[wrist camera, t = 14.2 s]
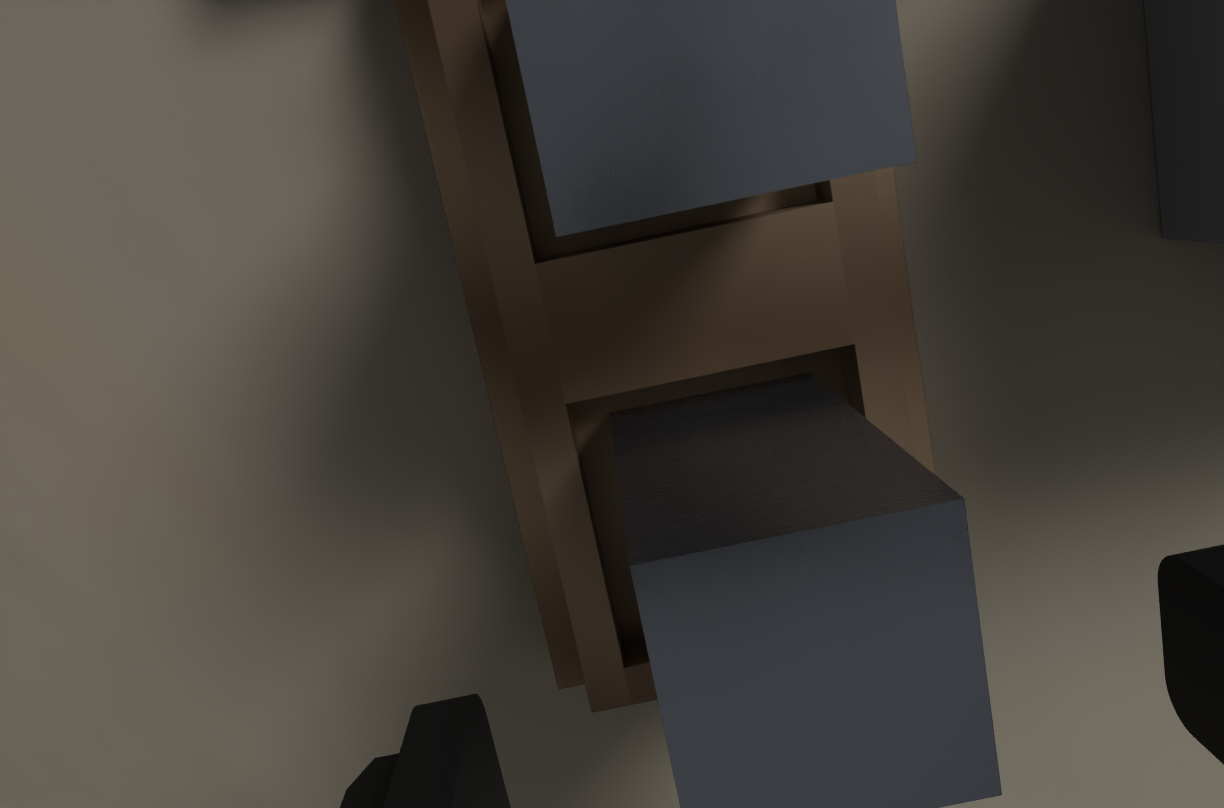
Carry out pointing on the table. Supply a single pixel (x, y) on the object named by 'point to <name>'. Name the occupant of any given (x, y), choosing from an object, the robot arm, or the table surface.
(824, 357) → the tray
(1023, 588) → the table surface
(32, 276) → the table surface
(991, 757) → the block
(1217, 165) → the grey cube holder
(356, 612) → the table surface
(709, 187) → the seated billet
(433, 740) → the robot arm
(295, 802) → the table surface
